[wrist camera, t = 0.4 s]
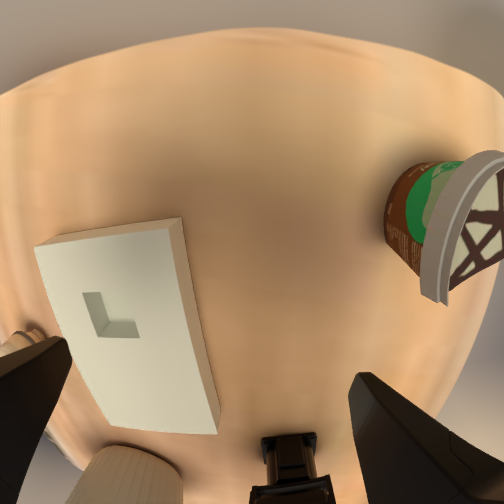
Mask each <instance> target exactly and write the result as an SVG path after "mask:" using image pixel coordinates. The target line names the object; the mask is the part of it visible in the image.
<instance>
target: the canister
mask: <svg viewBox="0 0 504 504" xmlns="http://www.w3.org/2000/svg"><path fill="white" fill-rule="evenodd" d="M65 504H183V485H182V481H181V478H180V476H179V474H178V472H177V471H176V470H175V469H174V468H173V467H172V466H170V464H168V463H166V462H165V461H163V460H161V459H160V458H158V457H156V456H154V455H151V454H149V453H147V452H144V451H142V450H138V449H134V448H131V447H126V446H119V445H118V446H115V445H113V446H108V447H105V448H103V449H101V450H100V451H99V452H97V453H96V455H95V456H94V457H93V458H92V460H91V461H90V463H89V465H88V466H87V468H86V469H85V471H84V472H83V474H82V475H81V477H80V479H79V480H78V482H77V484H76V485H75V487H74V489H73V491H72V492H71V494H70V496H69V498H68V499H67V501H66V502H65Z"/></svg>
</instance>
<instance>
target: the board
mask: <svg viewBox="0 0 504 504" xmlns="http://www.w3.org/2000/svg"><path fill="white" fill-rule="evenodd" d="M34 251H35V255H36V259H37V263H38V266H39V270H40V273H41V276H42V280H43V283H44V286H45V289H46V292H47V295H48V298H49V301H50V304H51V306H52V309H53V312H54V315H55V317H56V320H57V322H58V325H59V327H60V330H61V332H62V335H63V337H64V338H65V339H66V340H67V342H68V346H69V350H70V353H71V355H72V357H73V359H74V361H75V363H76V365H77V367H78V369H79V371H80V373H81V375H82V377H83V379H84V381H85V383H86V385H87V387H88V388H89V390H90V392H91V394H92V396H93V397H94V399H95V401H96V403H97V404H98V406H99V408H100V409H101V411H102V413H103V414H104V416H105V418H106V419H107V421H108V422H109V424H110V425H113V426H119V427H125V428H132V429H140V430H148V431H158V432H170V433H185V434H218V430H219V421H220V412H221V408H220V404H219V400H218V397H217V393H216V389H215V385H214V381H213V377H212V373H211V369H210V364H209V360H208V356H207V352H206V347H205V343H204V338H203V334H202V329H201V324H200V320H199V315H198V310H197V305H196V300H195V295H194V290H193V284H192V279H191V273H190V268H189V262H188V256H187V250H186V244H185V238H184V232H183V225H182V219H181V217H178V218H170V219H162V220H154V221H147V222H140V223H132V224H125V225H119V226H112V227H105V228H99V229H92V230H86V231H80V232H74V233H68V234H62V235H57V236H55V237H53V238H51V239H49V240H47V241H45V242H43V243H41V244H39V245H37V246H35V247H34Z"/></svg>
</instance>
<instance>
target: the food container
mask: <svg viewBox="0 0 504 504" xmlns="http://www.w3.org/2000/svg"><path fill="white" fill-rule="evenodd" d="M384 234H385V238H386V243H387V244H388V245H389V246H390V247H391V248H392V249H393V250H394V251H395V252H396V253H397V254H398V255H399V256H400V257H401V258H402V259H403V260H404V261H405V262H406V263H407V265H408V266H409V267H410V268H411V269H412V270H413V271H414V272H415V273H416V274H417V275H418V276H419V277H420V289H421V294H422V295H423V296H425V297H427V298H429V299H431V300H432V301H434V302H436V303H438V302H440V301H441V302H442V303H443V304H445V305H446V306H448V291H451V290H452V289H454V288H455V287H456V286H457V285H459V284H460V283H461V282H463V281H465V280H466V279H468V278H469V277H471V276H473V275H474V274H476V273H478V272H479V271H481V270H483V269H485V268H487V267H489V266H491V265H493V264H495V263H497V262H498V261H500V260H502V259H503V258H504V153H503V152H500V151H496V150H487V151H483V152H480V153H477V154H475V155H473V156H472V157H470V158H468V159H467V160H466V161H456V162H431V163H421V164H417V165H415V166H413V167H411V168H409V169H408V170H407V171H405V172H404V173H403V174H402V175H401V176H400V177H399V178H398V180H397V181H396V183H395V184H394V186H393V187H392V190H391V192H390V194H389V196H388V200H387V203H386V207H385V213H384Z"/></svg>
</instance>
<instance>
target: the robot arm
mask: <svg viewBox="0 0 504 504" xmlns="http://www.w3.org/2000/svg"><path fill="white" fill-rule="evenodd" d="M71 365H72V356H71V353H70V350H69V346H68V342H67V340H66V339H65V338H62V337H59V336H53V337H50V338H48V339H45V340H43V341H40V342H38V343H35V344H33V345H30V346H27V347H25V348H22V349H20V350H17V351H15V352H12V353H10V354H7V355H5V356H2V357H0V504H16V502H17V499H18V496H19V493H20V490H21V486H22V484H23V481H24V478H25V476H26V473H27V470H28V467H29V465H30V462H31V460H32V458H33V455H34V452H35V450H36V448H37V445H38V443H39V441H40V438H41V436H42V434H43V432H44V429H45V427H46V425H47V423H48V421H49V418H50V416H51V414H52V412H53V410H54V408H55V406H56V404H57V402H58V399H59V397H60V394H61V391H62V389H63V386H64V383H65V381H66V378H67V376H68V373H69V371H70V368H71ZM348 400H349V407H350V414H351V421H352V429H353V437H354V442H355V446H356V450H357V454H358V459H359V463H360V467H361V471H362V475H363V480H364V484H365V489H366V493H367V498H368V503H369V504H504V462H502V461H500V460H498V459H496V458H494V457H492V456H490V455H489V454H487V453H485V452H483V451H481V450H480V449H478V448H476V447H475V446H473V445H471V444H469V443H468V442H467V441H465V440H463V439H462V438H460V437H459V436H458V435H456V434H455V433H453V432H452V431H449V429H448V428H446V427H445V426H443V425H442V424H441V423H439V422H438V421H436V420H435V419H434V418H432V417H431V416H429V415H428V414H427V413H425V412H424V411H422V410H421V409H420V408H418V407H417V406H416V405H414V404H413V403H412V402H410V401H409V400H407V399H406V398H405V397H403V396H402V395H401V394H399V393H398V392H397V391H395V390H394V389H393V388H391V387H390V386H388V385H387V384H386V383H384V382H383V381H382V380H380V379H379V378H378V377H376V376H375V375H374V374H372V373H371V372H359V373H357V374H356V376H355V378H354V380H353V383H352V385H351V388H350V390H349V394H348ZM316 439H317V436H316V433H309V434H301V435H293V436H283V437H272V438H263V439H262V440H261V444H262V451H263V458H264V464H266V465H267V485H265V486H252V491H251V492H250V500H249V504H336V501H335V496H334V492H333V487H332V483H331V479H330V474H328V475H325V476H322V477H318V478H317V472H316V466H315V461H314V455H315V448H316Z"/></svg>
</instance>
